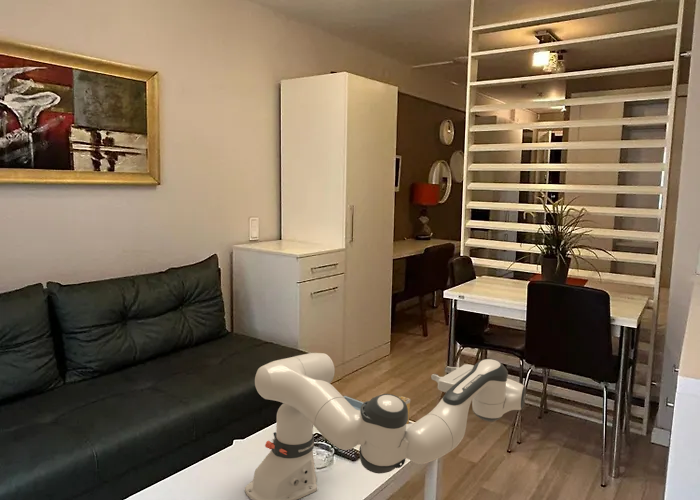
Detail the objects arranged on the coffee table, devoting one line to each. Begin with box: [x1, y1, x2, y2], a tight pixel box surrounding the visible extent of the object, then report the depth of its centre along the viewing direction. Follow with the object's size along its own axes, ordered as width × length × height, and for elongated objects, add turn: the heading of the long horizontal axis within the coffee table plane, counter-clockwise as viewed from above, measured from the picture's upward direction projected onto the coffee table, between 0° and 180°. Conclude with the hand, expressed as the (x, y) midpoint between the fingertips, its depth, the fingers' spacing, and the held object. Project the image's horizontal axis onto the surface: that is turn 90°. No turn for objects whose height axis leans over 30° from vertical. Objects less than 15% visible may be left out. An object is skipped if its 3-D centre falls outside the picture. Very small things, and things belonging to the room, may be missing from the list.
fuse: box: [398, 395, 411, 424], centre depth 191 cm, size 4×4×13 cm
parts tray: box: [342, 395, 366, 410], centre depth 203 cm, size 16×16×4 cm
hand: (439, 372), depth 178 cm, fingers open, 8 cm apart
